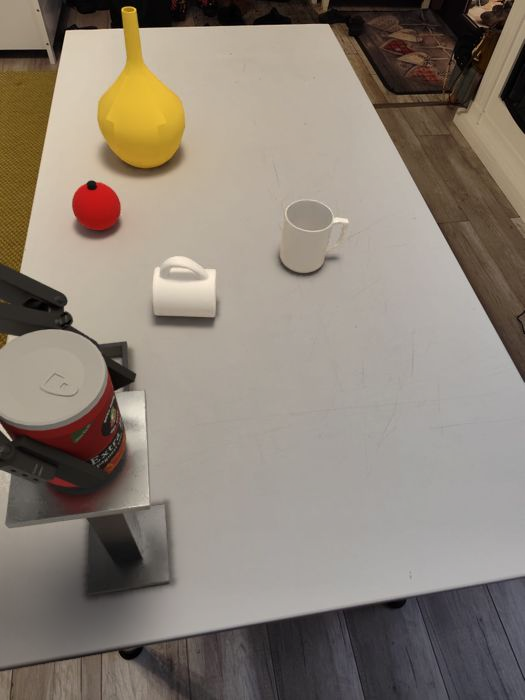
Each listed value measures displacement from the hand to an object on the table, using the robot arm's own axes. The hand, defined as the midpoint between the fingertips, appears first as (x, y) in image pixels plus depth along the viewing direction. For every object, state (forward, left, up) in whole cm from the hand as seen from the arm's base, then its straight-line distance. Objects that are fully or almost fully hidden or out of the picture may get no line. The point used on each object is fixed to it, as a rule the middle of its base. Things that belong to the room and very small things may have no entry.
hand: (111, 428), depth 40 cm
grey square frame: (+8, +27, -35) cm, 45 cm away
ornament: (+31, +58, -35) cm, 74 cm away
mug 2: (+56, +24, -35) cm, 70 cm away
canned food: (-2, +3, -4) cm, 5 cm away
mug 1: (+30, +30, -35) cm, 55 cm away
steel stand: (-2, +3, -35) cm, 35 cm away
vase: (+52, +71, -35) cm, 94 cm away
